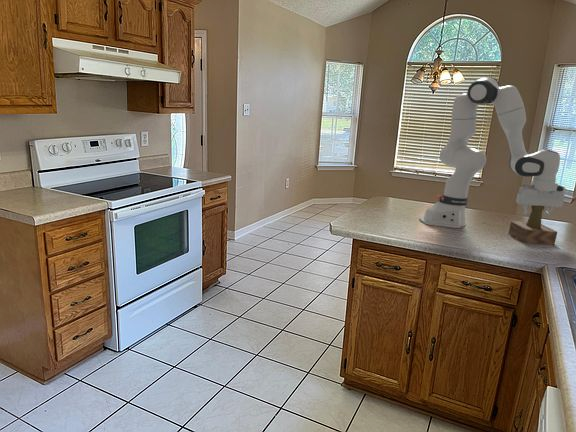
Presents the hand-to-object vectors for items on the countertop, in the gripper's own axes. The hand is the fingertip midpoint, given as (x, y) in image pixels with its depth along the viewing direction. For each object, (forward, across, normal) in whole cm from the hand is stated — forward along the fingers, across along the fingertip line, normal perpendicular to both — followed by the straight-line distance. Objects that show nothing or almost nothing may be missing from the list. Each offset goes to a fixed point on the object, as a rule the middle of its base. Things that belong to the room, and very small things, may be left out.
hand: (536, 214), depth 195 cm
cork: (+6, 0, 0) cm, 6 cm away
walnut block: (+12, 0, 0) cm, 12 cm away
